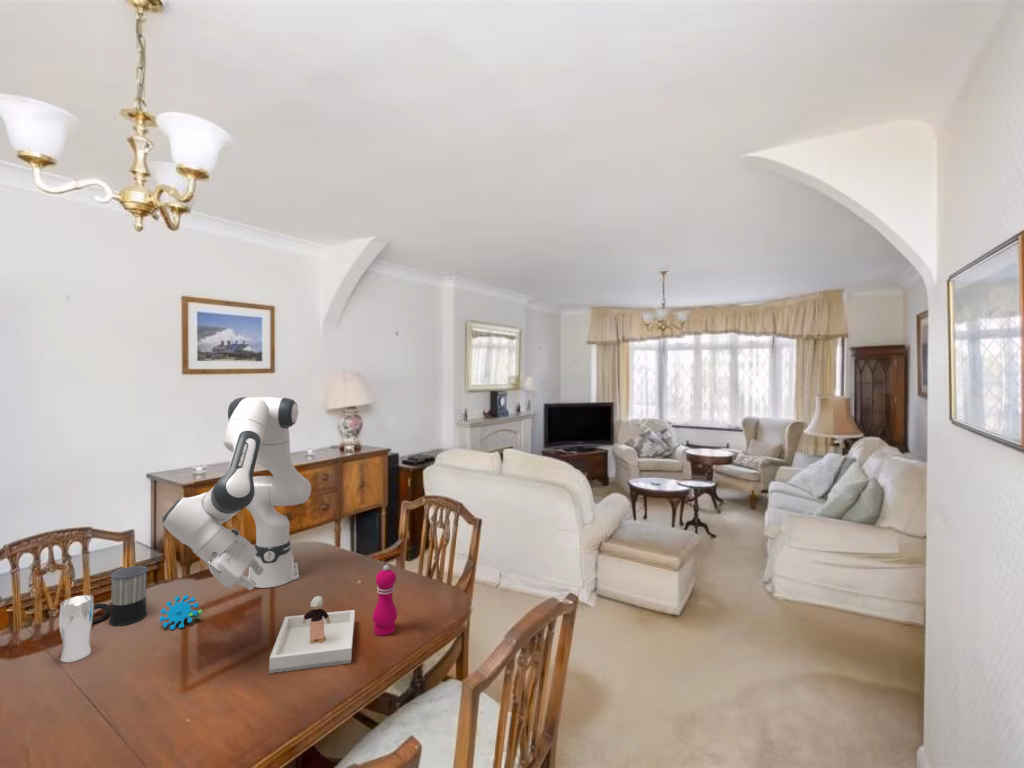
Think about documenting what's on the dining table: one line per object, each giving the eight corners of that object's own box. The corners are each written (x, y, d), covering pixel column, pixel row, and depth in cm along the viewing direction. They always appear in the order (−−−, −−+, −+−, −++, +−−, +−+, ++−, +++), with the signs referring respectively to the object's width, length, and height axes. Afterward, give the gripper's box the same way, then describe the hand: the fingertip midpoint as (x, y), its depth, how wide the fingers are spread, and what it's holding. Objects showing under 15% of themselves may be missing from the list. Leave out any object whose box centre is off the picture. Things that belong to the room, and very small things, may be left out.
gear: (151, 627, 140) (168, 592, 147) (156, 634, 144) (172, 600, 151) (193, 629, 142) (207, 595, 149) (196, 636, 146) (210, 602, 153)
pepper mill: (367, 630, 145) (369, 564, 145) (388, 622, 150) (389, 558, 150) (380, 639, 140) (382, 571, 140) (401, 630, 145) (403, 565, 145)
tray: (284, 630, 144) (285, 616, 144) (354, 622, 149) (354, 609, 149) (269, 673, 123) (269, 658, 123) (350, 663, 128) (351, 648, 128)
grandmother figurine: (330, 635, 140) (331, 592, 140) (329, 642, 136) (331, 598, 136) (301, 639, 137) (302, 595, 137) (300, 646, 134) (301, 601, 133)
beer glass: (65, 651, 130) (66, 596, 130) (97, 646, 132) (98, 592, 132) (52, 666, 123) (54, 608, 123) (86, 660, 126) (88, 603, 126)
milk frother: (149, 619, 148) (150, 571, 148) (81, 638, 136) (82, 586, 136) (141, 603, 158) (143, 559, 158) (77, 619, 146) (78, 571, 146)
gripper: (215, 552, 119) (257, 587, 122) (238, 526, 139) (274, 557, 142) (194, 571, 118) (238, 606, 121) (220, 543, 138) (257, 573, 141)
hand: (257, 579), depth 132 cm, fingers open, 8 cm apart
